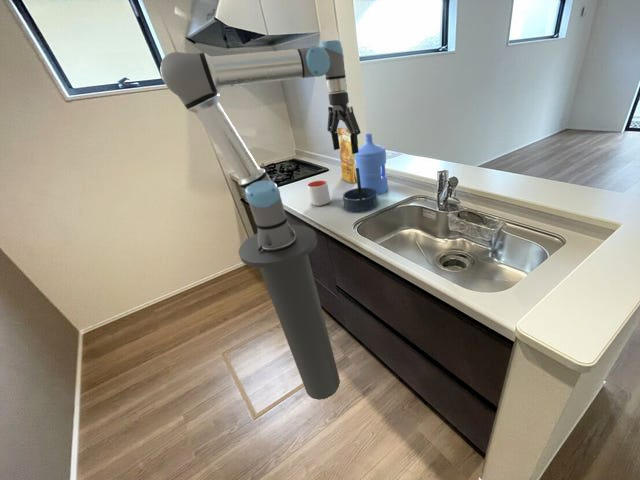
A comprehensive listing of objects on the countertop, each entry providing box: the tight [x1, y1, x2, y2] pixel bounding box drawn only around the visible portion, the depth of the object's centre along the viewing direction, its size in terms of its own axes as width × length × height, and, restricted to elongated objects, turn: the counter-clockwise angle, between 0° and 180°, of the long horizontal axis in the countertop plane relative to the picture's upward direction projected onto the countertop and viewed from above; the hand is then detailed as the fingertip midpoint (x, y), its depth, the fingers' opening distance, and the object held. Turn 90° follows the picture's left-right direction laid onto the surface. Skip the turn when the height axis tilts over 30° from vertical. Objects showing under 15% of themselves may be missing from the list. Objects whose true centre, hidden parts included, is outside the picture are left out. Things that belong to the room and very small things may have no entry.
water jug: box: [355, 133, 389, 196], centre depth 152 cm, size 16×16×28 cm
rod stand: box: [355, 167, 365, 200], centre depth 140 cm, size 6×6×17 cm
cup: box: [306, 180, 331, 207], centre depth 150 cm, size 10×10×10 cm
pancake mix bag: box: [337, 127, 357, 184], centre depth 172 cm, size 7×19×28 cm, turn 30°
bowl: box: [342, 187, 379, 213], centre depth 143 cm, size 17×17×6 cm
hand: (345, 151), depth 125 cm, fingers open, 13 cm apart
